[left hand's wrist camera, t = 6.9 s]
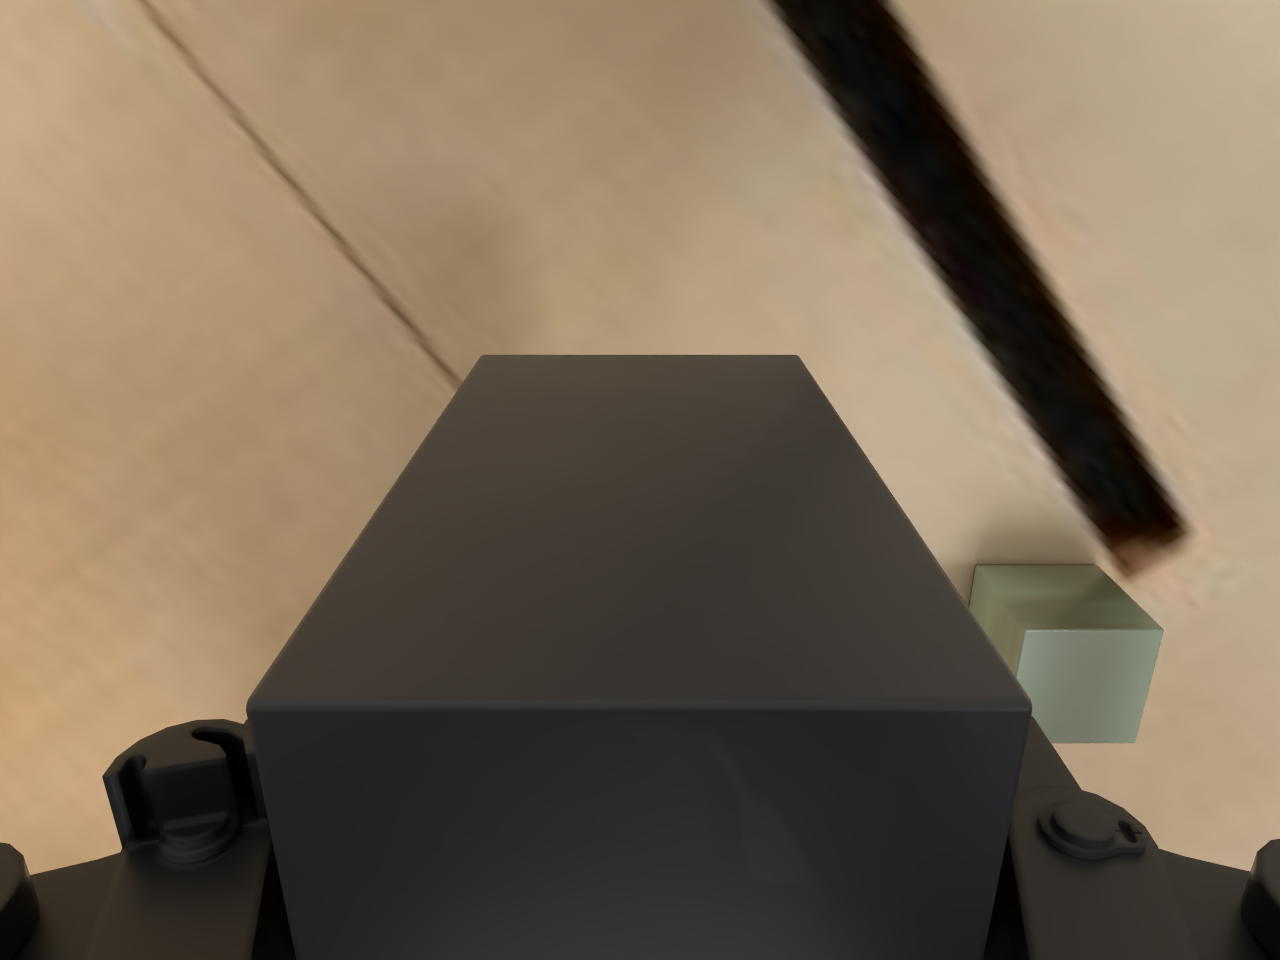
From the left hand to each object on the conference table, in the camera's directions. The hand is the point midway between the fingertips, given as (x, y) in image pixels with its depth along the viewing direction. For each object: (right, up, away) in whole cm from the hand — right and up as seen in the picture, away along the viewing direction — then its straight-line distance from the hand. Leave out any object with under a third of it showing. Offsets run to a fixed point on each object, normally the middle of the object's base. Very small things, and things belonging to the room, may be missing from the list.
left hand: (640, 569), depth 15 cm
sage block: (+13, -3, +15) cm, 20 cm away
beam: (0, -8, +4) cm, 9 cm away
